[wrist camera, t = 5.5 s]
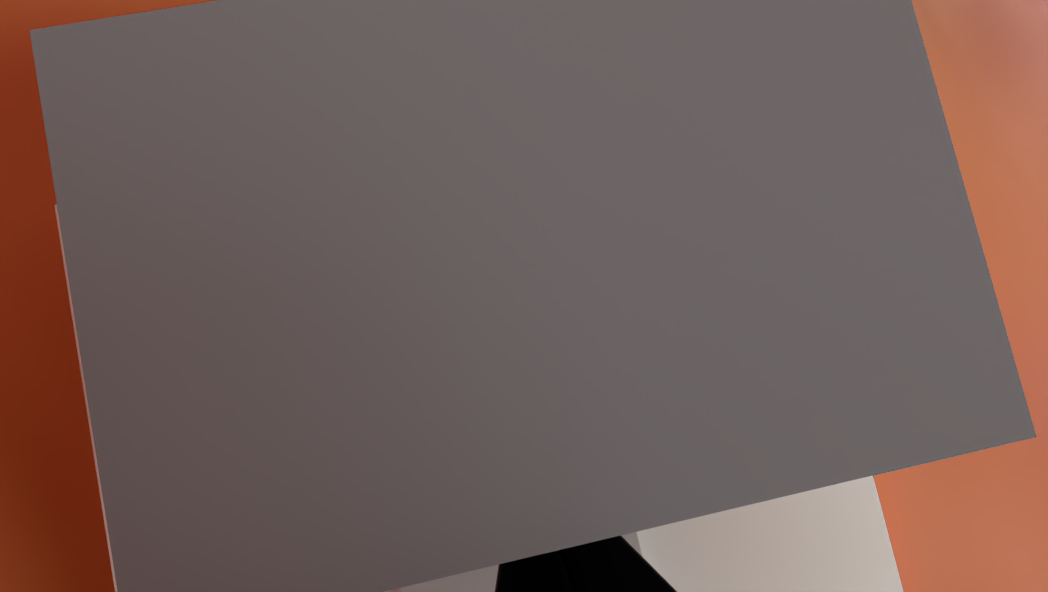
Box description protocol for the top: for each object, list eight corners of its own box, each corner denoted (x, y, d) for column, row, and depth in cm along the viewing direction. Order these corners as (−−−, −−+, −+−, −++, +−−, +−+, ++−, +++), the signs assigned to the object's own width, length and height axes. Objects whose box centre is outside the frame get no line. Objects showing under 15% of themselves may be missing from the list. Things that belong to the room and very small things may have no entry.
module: (697, 445, 15) (1035, 436, 7) (304, 534, 14) (126, 653, 6) (628, 159, 16) (858, -179, 7) (248, 230, 15) (14, -56, 6)
